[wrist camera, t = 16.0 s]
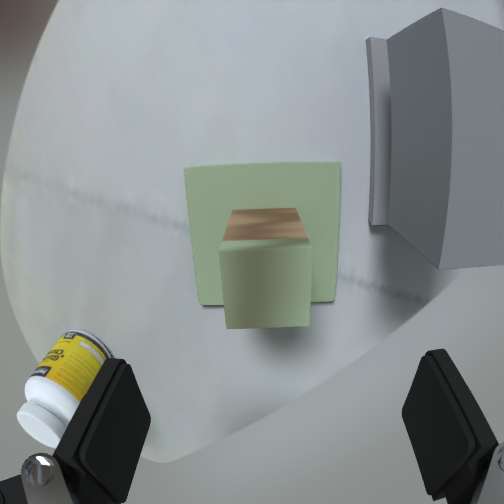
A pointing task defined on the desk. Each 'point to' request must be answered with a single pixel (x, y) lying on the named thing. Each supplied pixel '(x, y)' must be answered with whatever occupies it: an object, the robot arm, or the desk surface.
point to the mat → (263, 197)
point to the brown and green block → (266, 269)
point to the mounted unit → (440, 138)
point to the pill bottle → (60, 385)
